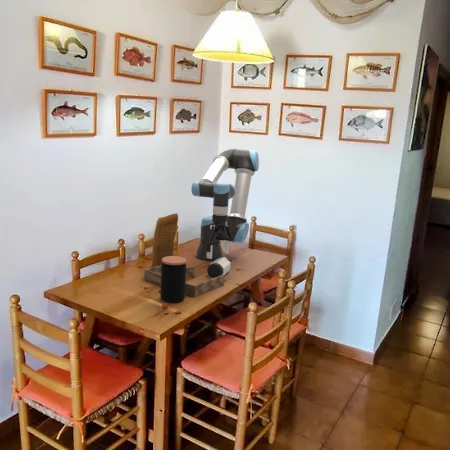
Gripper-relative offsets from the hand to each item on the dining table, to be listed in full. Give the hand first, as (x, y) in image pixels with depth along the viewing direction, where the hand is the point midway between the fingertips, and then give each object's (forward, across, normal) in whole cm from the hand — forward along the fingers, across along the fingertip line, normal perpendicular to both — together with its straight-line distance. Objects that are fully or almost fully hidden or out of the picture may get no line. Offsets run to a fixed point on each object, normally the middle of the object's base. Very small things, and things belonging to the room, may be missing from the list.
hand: (217, 255), depth 233 cm
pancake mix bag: (+12, +7, -30) cm, 33 cm away
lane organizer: (+11, +18, -6) cm, 22 cm away
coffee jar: (+11, +38, +5) cm, 40 cm away
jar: (+7, -9, -2) cm, 12 cm away
